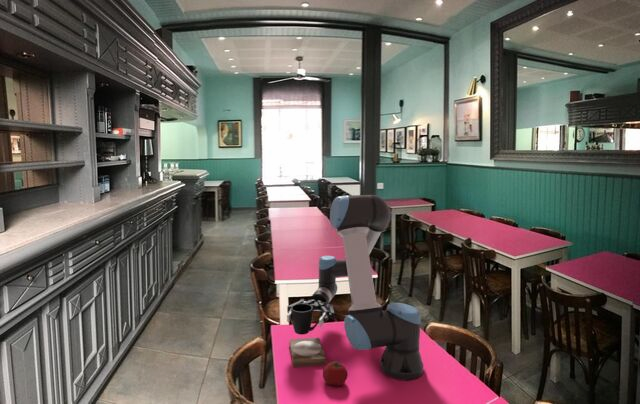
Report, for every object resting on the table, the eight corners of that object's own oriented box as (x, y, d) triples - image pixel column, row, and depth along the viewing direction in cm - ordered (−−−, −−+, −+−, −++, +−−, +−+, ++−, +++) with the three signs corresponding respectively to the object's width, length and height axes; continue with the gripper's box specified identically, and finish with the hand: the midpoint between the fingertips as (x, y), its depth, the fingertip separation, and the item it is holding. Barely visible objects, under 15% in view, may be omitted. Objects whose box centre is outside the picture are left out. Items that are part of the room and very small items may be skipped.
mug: (320, 338, 143) (320, 314, 141) (288, 335, 145) (288, 310, 144) (324, 328, 151) (324, 305, 149) (294, 325, 153) (294, 302, 152)
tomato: (335, 373, 137) (335, 354, 136) (351, 383, 131) (352, 363, 130) (318, 382, 131) (318, 362, 130) (334, 393, 125) (335, 372, 124)
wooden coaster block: (326, 364, 142) (326, 357, 142) (293, 367, 140) (293, 360, 140) (319, 343, 158) (319, 336, 157) (289, 345, 156) (289, 338, 155)
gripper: (348, 311, 161) (335, 335, 141) (293, 304, 168) (273, 325, 147) (348, 294, 160) (335, 315, 140) (293, 287, 167) (273, 307, 146)
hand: (303, 320), depth 143 cm, fingers closed on mug, 12 cm apart
